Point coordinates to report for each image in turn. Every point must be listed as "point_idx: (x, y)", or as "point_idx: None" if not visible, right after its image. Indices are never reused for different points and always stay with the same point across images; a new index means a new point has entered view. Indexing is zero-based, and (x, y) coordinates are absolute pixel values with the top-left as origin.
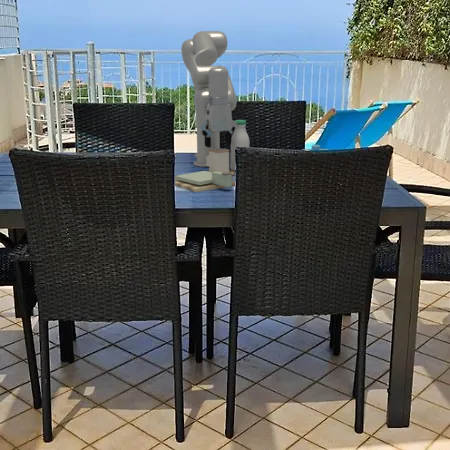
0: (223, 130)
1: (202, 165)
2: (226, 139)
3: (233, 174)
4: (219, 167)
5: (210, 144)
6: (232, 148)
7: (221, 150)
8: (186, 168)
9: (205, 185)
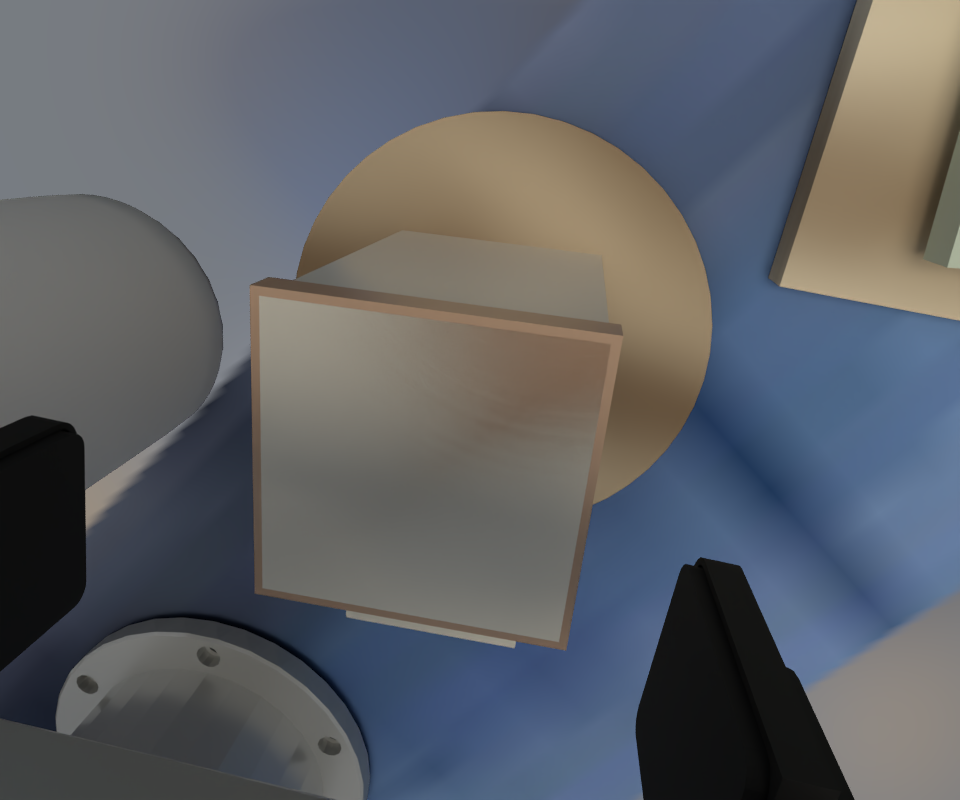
0: (27, 727)
1: (348, 728)
2: (4, 613)
3: (400, 137)
4: (572, 266)
5: (722, 597)
6: None
7: (458, 359)
8: (517, 792)
9: None
